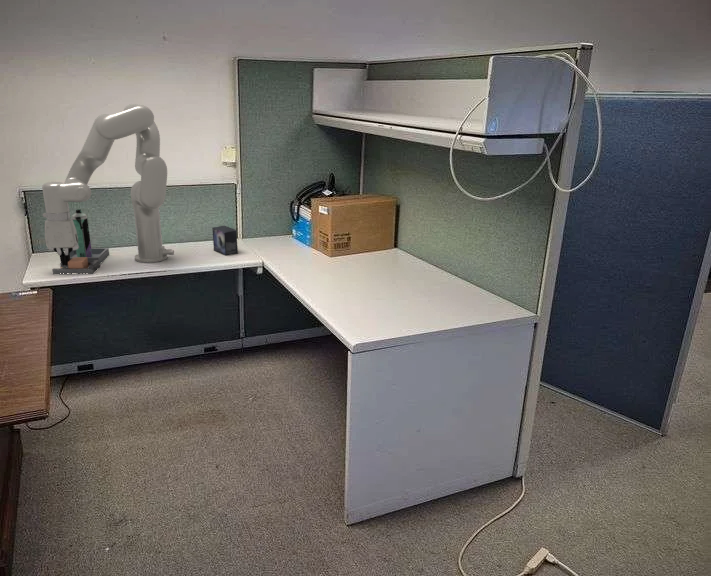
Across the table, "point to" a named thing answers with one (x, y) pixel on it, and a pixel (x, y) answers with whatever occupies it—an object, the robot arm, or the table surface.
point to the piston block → (78, 262)
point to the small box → (225, 240)
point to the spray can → (82, 234)
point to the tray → (94, 254)
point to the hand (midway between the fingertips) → (66, 264)
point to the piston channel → (92, 268)
